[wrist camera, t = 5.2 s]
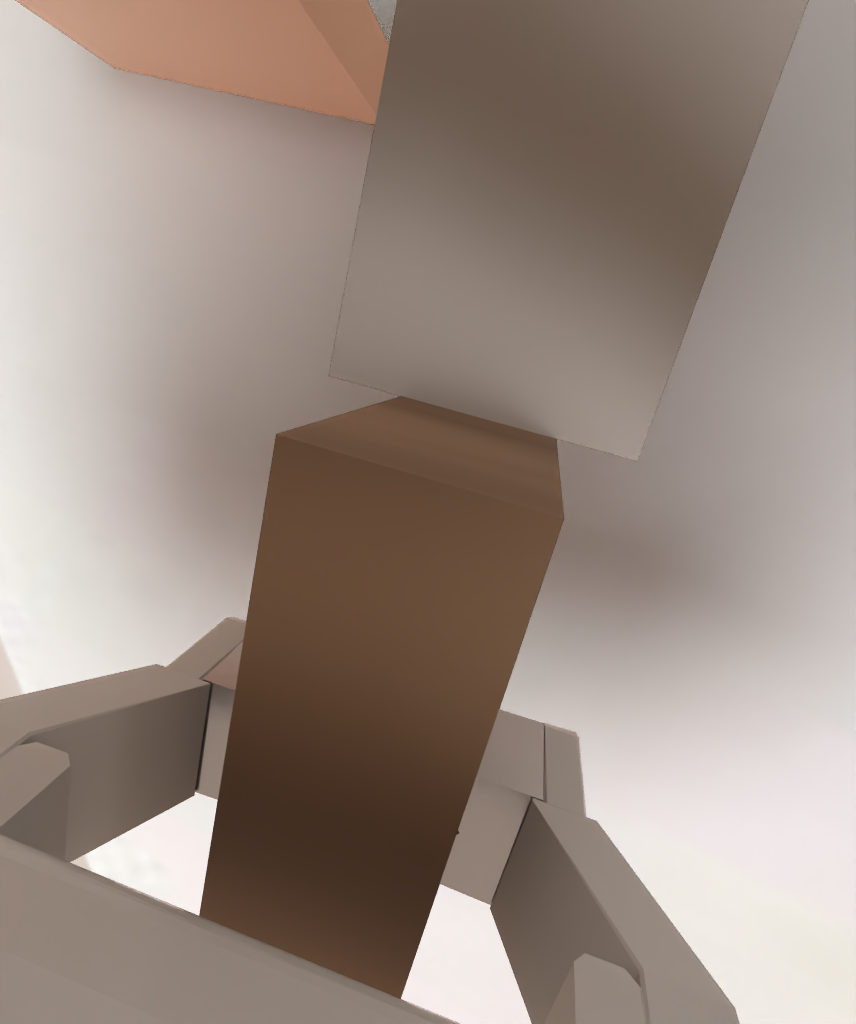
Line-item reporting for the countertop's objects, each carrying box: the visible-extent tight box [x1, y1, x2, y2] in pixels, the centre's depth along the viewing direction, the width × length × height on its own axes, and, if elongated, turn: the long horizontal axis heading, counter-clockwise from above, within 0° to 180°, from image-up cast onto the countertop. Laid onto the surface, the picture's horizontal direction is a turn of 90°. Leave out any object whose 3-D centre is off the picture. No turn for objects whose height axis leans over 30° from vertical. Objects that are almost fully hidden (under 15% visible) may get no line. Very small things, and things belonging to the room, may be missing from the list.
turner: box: [199, 0, 809, 999], centre depth 7 cm, size 16×5×5 cm, turn 166°
